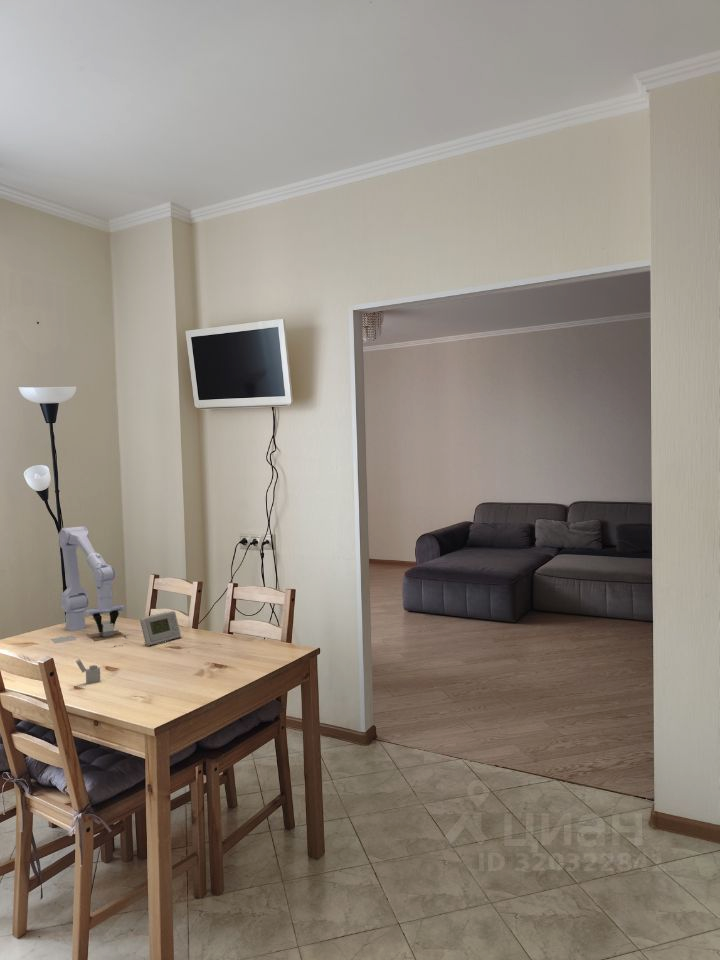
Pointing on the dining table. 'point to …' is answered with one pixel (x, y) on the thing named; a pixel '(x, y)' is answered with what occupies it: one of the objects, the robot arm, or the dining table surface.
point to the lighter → (90, 672)
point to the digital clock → (160, 628)
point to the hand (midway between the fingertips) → (106, 630)
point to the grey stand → (63, 639)
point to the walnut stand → (98, 637)
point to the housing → (107, 629)
